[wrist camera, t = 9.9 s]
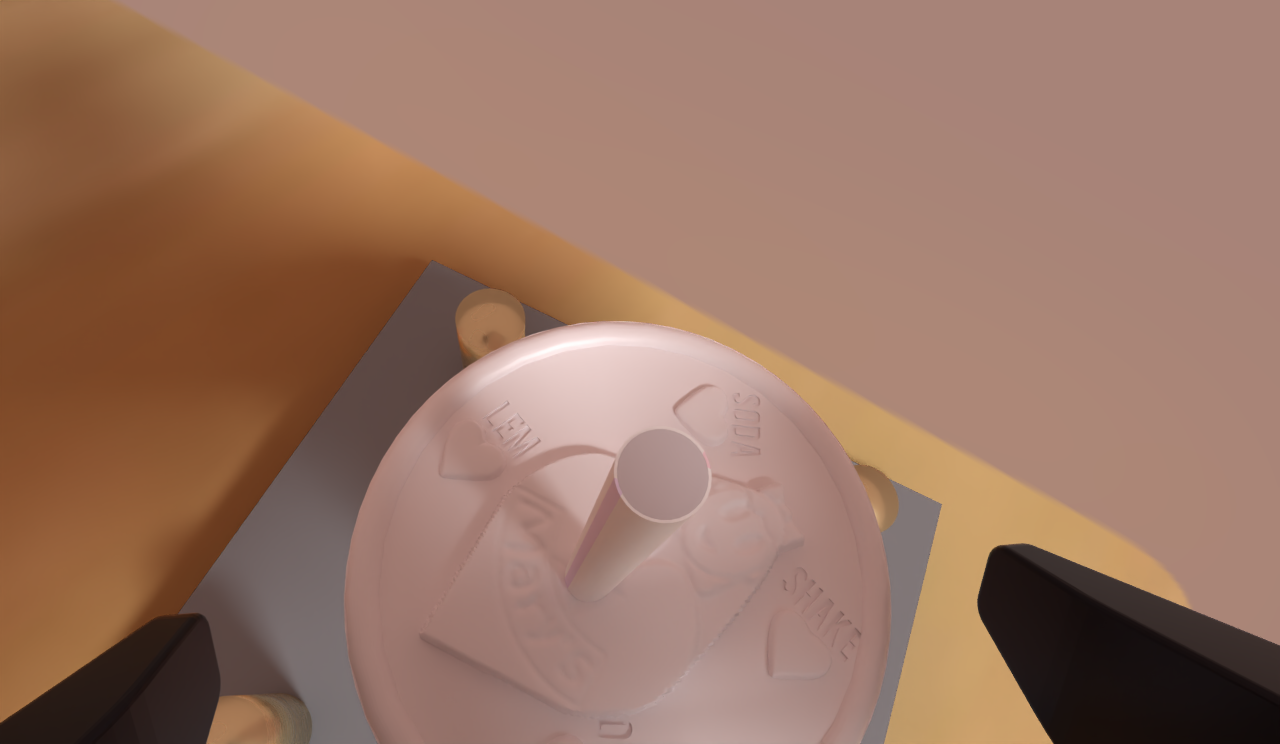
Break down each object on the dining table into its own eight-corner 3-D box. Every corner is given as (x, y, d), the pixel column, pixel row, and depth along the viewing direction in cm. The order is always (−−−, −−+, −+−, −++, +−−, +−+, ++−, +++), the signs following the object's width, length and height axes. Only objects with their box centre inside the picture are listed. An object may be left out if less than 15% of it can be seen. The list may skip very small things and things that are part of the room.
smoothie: (407, 534, 17) (82, 97, 4) (653, 462, 19) (945, 0, 6) (470, 826, 15) (197, 1732, 2) (741, 714, 16) (1496, 831, 4)
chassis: (914, 515, 21) (1010, 475, 17) (761, 1105, 15) (854, 1266, 11) (437, 286, 21) (419, 193, 17) (101, 767, 15) (-49, 799, 11)
